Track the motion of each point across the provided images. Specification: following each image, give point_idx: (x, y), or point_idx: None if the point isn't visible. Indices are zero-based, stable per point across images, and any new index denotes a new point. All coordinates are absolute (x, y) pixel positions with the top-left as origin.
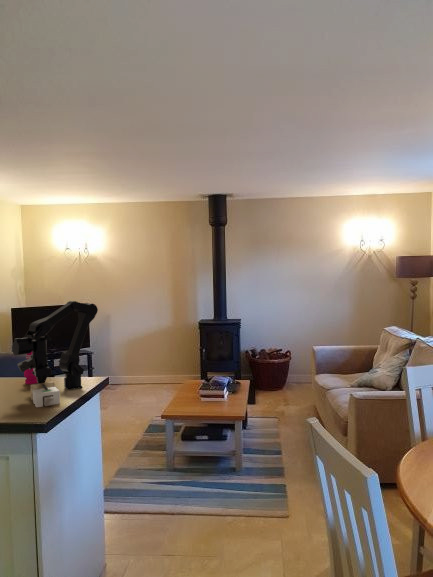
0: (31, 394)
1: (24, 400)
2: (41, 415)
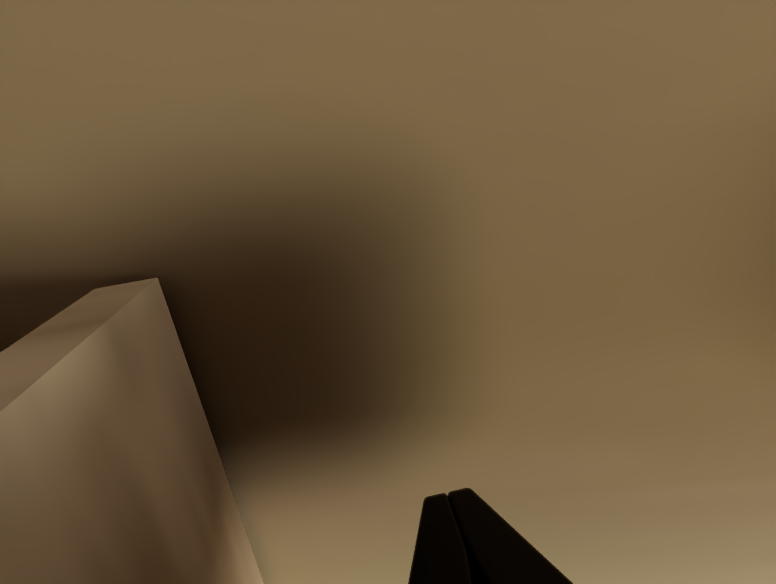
0: (19, 343)
1: (191, 143)
2: None
